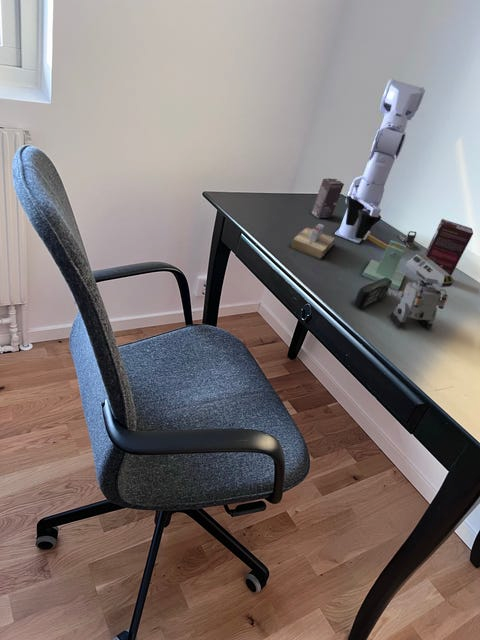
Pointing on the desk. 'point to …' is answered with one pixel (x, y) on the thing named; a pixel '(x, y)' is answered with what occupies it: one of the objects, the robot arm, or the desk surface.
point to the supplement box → (448, 244)
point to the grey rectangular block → (316, 232)
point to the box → (327, 198)
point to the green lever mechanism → (387, 265)
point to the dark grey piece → (372, 292)
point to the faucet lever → (377, 241)
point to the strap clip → (409, 240)
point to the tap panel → (312, 243)
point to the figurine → (421, 292)
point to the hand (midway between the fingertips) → (354, 231)
